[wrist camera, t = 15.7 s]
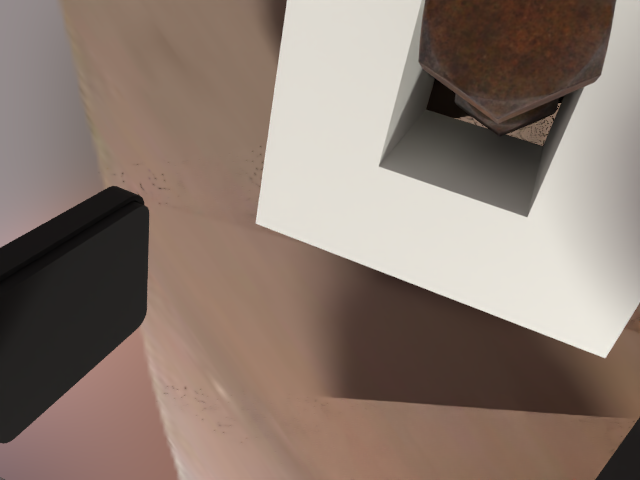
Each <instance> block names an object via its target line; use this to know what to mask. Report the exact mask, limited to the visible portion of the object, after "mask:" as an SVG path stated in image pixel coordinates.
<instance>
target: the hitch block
mask: <svg viewBox="0 0 640 480" xmlns="http://www.w3.org/2000/svg"><path fill="white" fill-rule="evenodd" d="M424 4H425V0H287V5H286V12H285V19H284V26H283V33H282V40H281V47H280V54H279V61H278V68H277V76H276V83H275V90H274V97H273V104H272V111H271V118H270V125H269V132H268V140H267V147H266V154H265V161H264V168H263V175H262V182H261V189H260V196H259V204H258V211H257V218H256V224H258V225H261V226H264V227H266V228H269V229H271V230H274V231H277V232H279V233H282V234H284V235H287V236H290V237H292V238H295V239H297V240H300V241H303V242H305V243H308V244H310V245H313V246H316V247H318V248H321V249H323V250H326V251H328V252H331V253H334V254H336V255H339V256H341V257H344V258H347V259H349V260H352V261H354V262H357V263H360V264H362V265H365V266H367V267H370V268H373V269H375V270H378V271H380V272H383V273H386V274H388V275H391V276H393V277H396V278H398V279H401V280H404V281H406V282H409V283H411V284H414V285H417V286H419V287H422V288H424V289H427V290H430V291H432V292H435V293H437V294H440V295H443V296H445V297H448V298H450V299H453V300H456V301H458V302H461V303H463V304H466V305H468V306H471V307H474V308H476V309H479V310H481V311H484V312H487V313H489V314H492V315H494V316H497V317H500V318H502V319H505V320H507V321H510V322H513V323H515V324H518V325H520V326H523V327H526V328H528V329H531V330H533V331H536V332H538V333H541V334H544V335H546V336H549V337H551V338H554V339H557V340H559V341H562V342H564V343H567V344H570V345H572V346H575V347H577V348H580V349H583V350H585V351H588V352H590V353H593V354H596V355H598V356H601V357H603V358H606V356H607V355H608V353H609V351H610V350H611V348H612V347H613V345H614V343H615V342H616V340H617V339H618V337H619V335H620V334H621V332H622V330H623V329H624V327H625V326H626V324H627V322H628V321H629V319H630V317H631V316H632V314H633V313H634V311H635V309H636V308H637V306H638V305H639V303H640V0H616V5H615V11H614V17H613V23H612V29H611V34H610V39H609V43H608V48H607V53H606V57H605V61H604V65H603V69H602V73H601V76H600V77H599V78H598V79H597V81H596V82H594V83H592V84H590V85H587V86H585V87H583V88H580V89H578V90H576V91H573V92H571V93H569V94H566V95H565V96H564V98H563V100H562V103H561V105H560V107H559V110H558V112H557V114H556V117H555V119H554V122H553V124H552V126H551V129H550V131H549V133H548V136H547V138H546V141H545V143H544V145H543V146H541V145H538V144H535V143H531V142H528V141H525V140H522V139H519V138H515V137H512V136H509V135H506V134H505V135H502V136H498V135H497V134H495V133H494V132H493V131H491V130H490V129H487V128H484V127H480V126H477V125H474V124H471V123H468V122H464V121H461V120H458V119H455V118H452V117H448V116H445V115H442V114H439V113H436V112H432V111H429V110H426V108H427V105H428V101H429V98H430V94H431V91H432V88H433V84H434V81H435V78H434V77H433V76H432V75H430V74H429V73H427V72H426V71H425V70H423V69H422V67H421V65H420V64H419V62H418V60H419V45H420V34H421V25H422V17H423V11H424Z"/></svg>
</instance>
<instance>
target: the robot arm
mask: <svg viewBox="0 0 640 480" xmlns="http://www.w3.org/2000/svg"><path fill="white" fill-rule="evenodd" d="M148 242H149V210H148V208H147V207H146V206H144V201H143V198H142V197H141V196H139V195H137V194H134V193H132V192H129V191H127V190H124V189H122V188H119V187H117V186H112V187H109V188H107V189H105V190H103V191H101V192H100V193H98V194H96V195H94V196H93V197H91V198H89V199H87V200H85V201H83V202H82V203H80V204H78V205H76V206H75V207H73V208H71V209H69V210H67V211H66V212H64V213H62V214H60V215H58V216H57V217H55V218H53V219H51V220H50V221H48V222H46V223H44V224H42V225H40V226H39V227H37V228H35V229H33V230H31V231H30V232H28V233H26V234H25V235H22V236H21V237H19V238H17V239H15V240H14V241H12V242H10V243H8V244H7V245H5V246H3V247H1V248H0V443H8V442H10V441H12V440H13V439H14V438H15V437H16V436H18V435H19V434H20V433H21V432H22V431H23V430H24V429H26V428H27V427H28V426H29V425H30V424H31V423H32V422H33V421H35V420H36V419H37V418H38V417H39V416H40V415H41V414H42V413H44V412H45V411H46V410H47V409H48V408H49V407H50V406H51V405H52V404H54V403H55V402H56V401H57V400H58V399H59V398H60V397H61V396H63V395H64V394H65V393H66V392H67V391H68V390H69V389H70V388H71V387H73V386H74V385H75V384H76V383H77V382H78V381H79V380H80V379H81V378H83V377H84V376H85V375H86V374H87V373H88V372H89V371H90V370H92V369H93V368H94V367H95V366H96V365H97V364H98V363H99V362H100V361H102V360H103V359H104V358H105V357H106V356H107V355H108V354H109V353H110V352H112V351H113V350H114V349H115V348H116V347H117V346H118V345H119V344H121V342H123V341H124V340H125V339H126V338H127V337H128V336H130V335H131V334H132V333H133V332H134V331H135V330H136V329H137V328H138V327H139V326H140V325H141V324H142V322H143V320H144V318H145V315H146V311H147V279H148ZM0 480H5V479H3V478H1V477H0ZM595 480H640V418H639V419H638V420H637V422H636V423H635V425H634V426H633V428H632V429H631V430H630V432H629V433H628V435H627V436H626V437H625V439H624V440H623V442H622V443H621V444H620V446H619V447H618V449H617V450H616V451H615V453H614V454H613V456H612V457H611V458H610V460H609V461H608V463H607V464H606V465H605V467H604V468H603V470H602V471H601V472H600V474H599V475H598V477H597V478H596V479H595Z"/></svg>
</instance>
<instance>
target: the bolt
mask: <svg viewBox="0 0 640 480" xmlns="http://www.w3.org/2000/svg"><path fill="white" fill-rule="evenodd" d="M615 5H616V0H425V4H424V11H423V17H422V25H421V34H420V45H419V60H418V62H419V64H420V65H421V67H422V69H423V70H425V71H426V72H427V73H429V74H430V75H432V76H433V77H434V78H436V79H437V80H438V81H440V82H441V83H442V84H444V85H445V86H447V87H448V88H449V89H451V90H452V91H453V92H455V93H456V94H455V103H456V105H458V106H459V107H460V108H461V109H463V110H464V111H465V112H466V113H468V114H469V115H470V116H472V117H473V118H474V119H476V120H477V121H479V122H480V123H481V124H483V125H484V126H485V127H487V128H488V129H490V130H491V131H493V132H494V133H495V134H497V135H498V136H502V135H505V134H508V133H510V132H513V131H515V130H518V129H520V128H523V127H525V126H527V125H530V124H532V123H534V122H537V121H539V120H541V119H543V118H546V117H548V116H550V115H552V114H554V113H555V112H556V110H557V105H558V100H559V97H562V96H564V95H566V94H569V93H571V92H573V91H576V90H578V89H580V88H583V87H585V86H587V85H590V84H592V83H594V82H596V81H597V79H598V78H599V77H600V76H601V73H602V69H603V65H604V61H605V57H606V53H607V48H608V43H609V39H610V34H611V29H612V23H613V17H614V11H615Z"/></svg>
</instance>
